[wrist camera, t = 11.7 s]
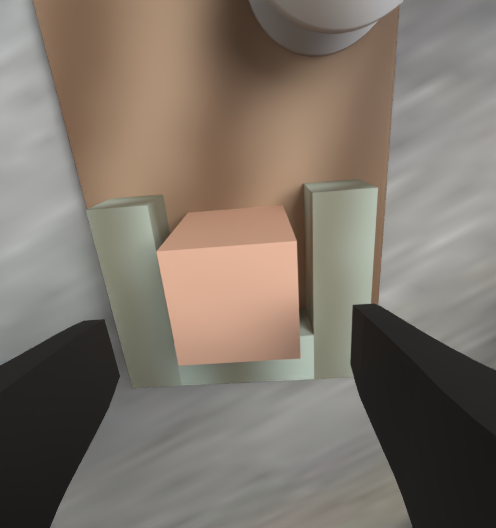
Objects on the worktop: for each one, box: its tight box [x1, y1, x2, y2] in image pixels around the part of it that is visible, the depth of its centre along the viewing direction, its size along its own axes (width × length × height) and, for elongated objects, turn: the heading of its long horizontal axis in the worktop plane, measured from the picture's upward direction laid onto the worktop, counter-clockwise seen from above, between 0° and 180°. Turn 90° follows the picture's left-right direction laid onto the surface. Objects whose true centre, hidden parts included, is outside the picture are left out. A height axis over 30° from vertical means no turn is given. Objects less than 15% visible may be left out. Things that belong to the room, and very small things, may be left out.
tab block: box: [156, 205, 301, 366], centre depth 14 cm, size 4×4×6 cm
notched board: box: [33, 0, 404, 388], centre depth 14 cm, size 14×22×5 cm, turn 5°
